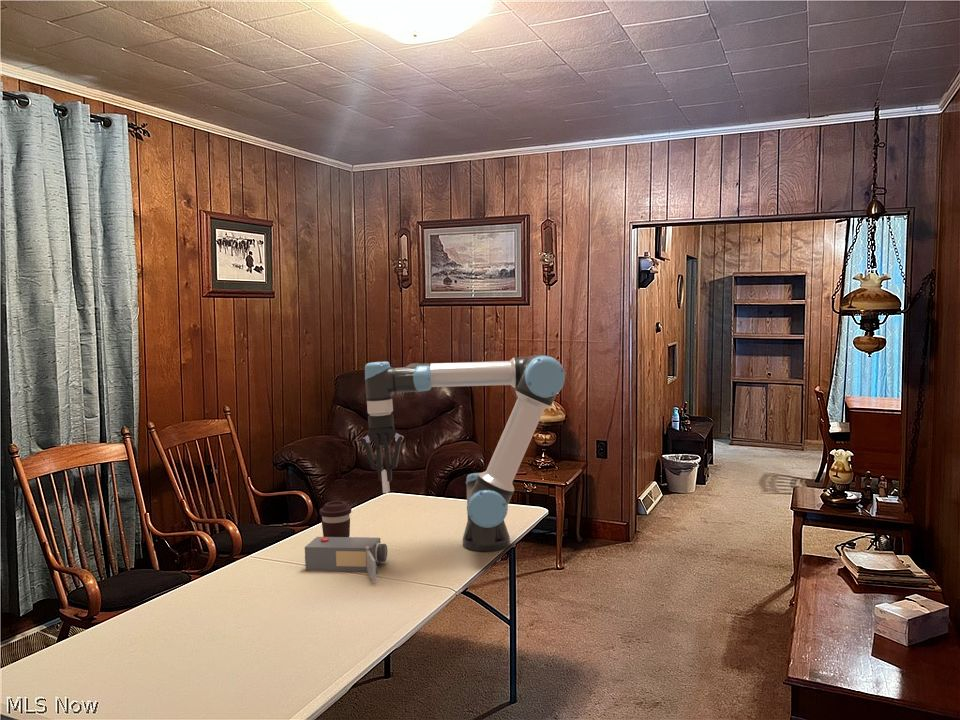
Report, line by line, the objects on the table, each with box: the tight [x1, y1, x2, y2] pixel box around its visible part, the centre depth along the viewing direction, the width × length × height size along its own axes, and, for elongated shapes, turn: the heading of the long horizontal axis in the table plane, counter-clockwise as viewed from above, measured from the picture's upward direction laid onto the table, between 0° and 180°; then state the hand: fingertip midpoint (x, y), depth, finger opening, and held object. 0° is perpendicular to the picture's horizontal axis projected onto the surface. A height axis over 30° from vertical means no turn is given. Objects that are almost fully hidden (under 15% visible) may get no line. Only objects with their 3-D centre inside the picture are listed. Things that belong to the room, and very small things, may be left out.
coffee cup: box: [319, 500, 352, 537], centre depth 229 cm, size 10×10×15 cm
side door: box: [366, 550, 379, 583], centre depth 202 cm, size 10×1×6 cm, turn 19°
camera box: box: [304, 536, 388, 573], centre depth 213 cm, size 22×11×8 cm, turn 82°
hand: (386, 491), depth 215 cm, fingers closed
